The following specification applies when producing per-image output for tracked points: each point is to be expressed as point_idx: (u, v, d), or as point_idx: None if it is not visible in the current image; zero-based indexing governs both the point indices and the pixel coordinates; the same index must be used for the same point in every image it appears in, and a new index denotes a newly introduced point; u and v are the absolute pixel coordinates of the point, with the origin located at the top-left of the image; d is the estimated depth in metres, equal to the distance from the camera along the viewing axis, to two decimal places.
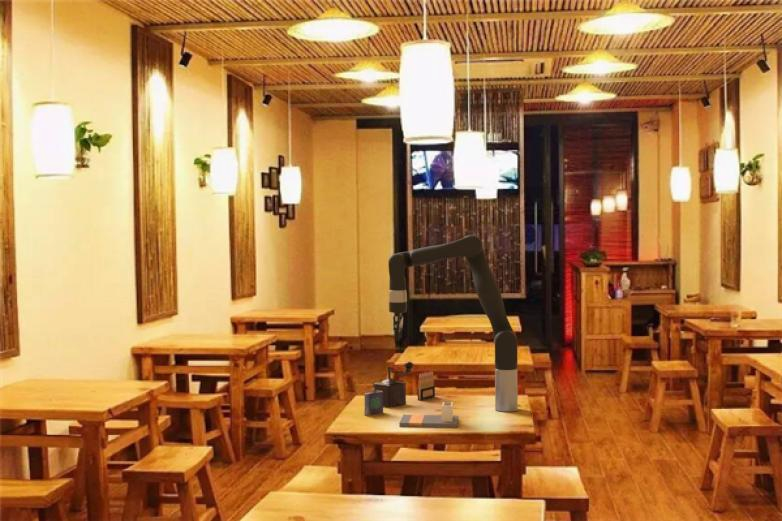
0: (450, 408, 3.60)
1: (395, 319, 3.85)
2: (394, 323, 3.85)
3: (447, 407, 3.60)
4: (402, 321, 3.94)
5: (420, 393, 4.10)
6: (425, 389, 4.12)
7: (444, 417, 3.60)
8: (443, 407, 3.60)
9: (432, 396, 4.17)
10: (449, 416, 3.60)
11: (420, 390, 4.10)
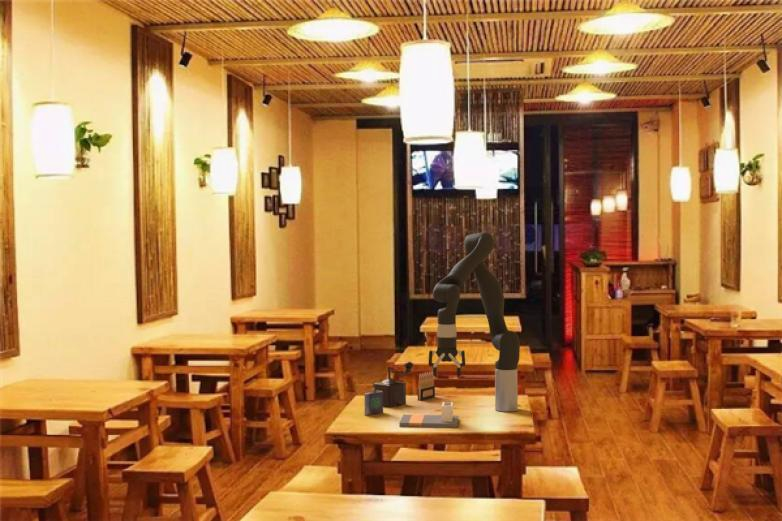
0: (450, 408, 3.60)
1: (464, 353, 3.62)
2: (464, 358, 3.61)
3: (447, 407, 3.60)
4: None
5: (420, 393, 4.10)
6: (425, 389, 4.12)
7: (444, 417, 3.60)
8: (443, 407, 3.60)
9: (432, 396, 4.17)
10: (449, 416, 3.60)
11: (420, 390, 4.10)
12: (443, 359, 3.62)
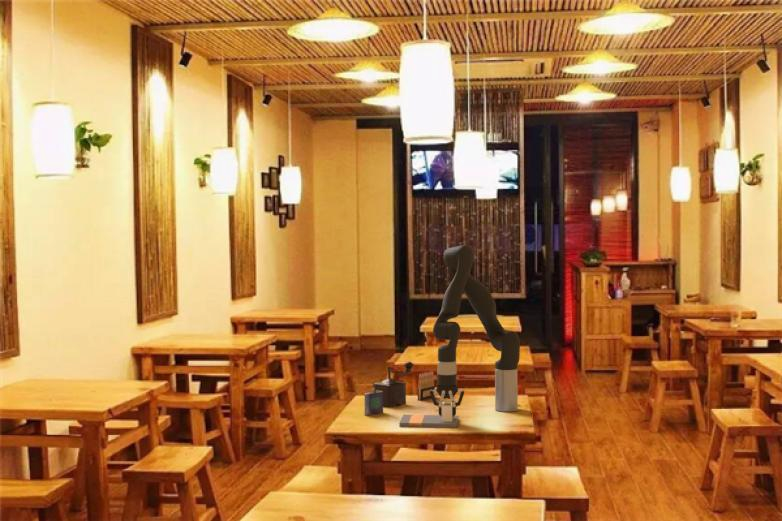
0: (450, 408, 3.60)
1: (463, 394, 3.62)
2: None
3: (447, 407, 3.60)
4: None
5: (420, 393, 4.10)
6: (425, 389, 4.12)
7: (444, 417, 3.60)
8: (443, 407, 3.60)
9: None
10: (449, 416, 3.60)
11: (420, 390, 4.10)
12: (445, 396, 3.63)
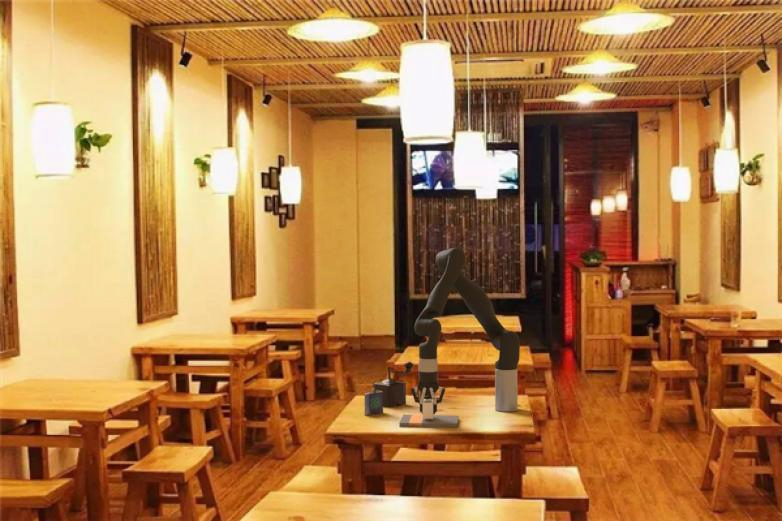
0: (431, 405, 3.60)
1: (444, 391, 3.63)
2: None
3: (428, 404, 3.60)
4: None
5: (420, 393, 4.10)
6: None
7: (425, 414, 3.61)
8: (424, 404, 3.60)
9: None
10: (430, 413, 3.60)
11: None
12: (426, 393, 3.63)
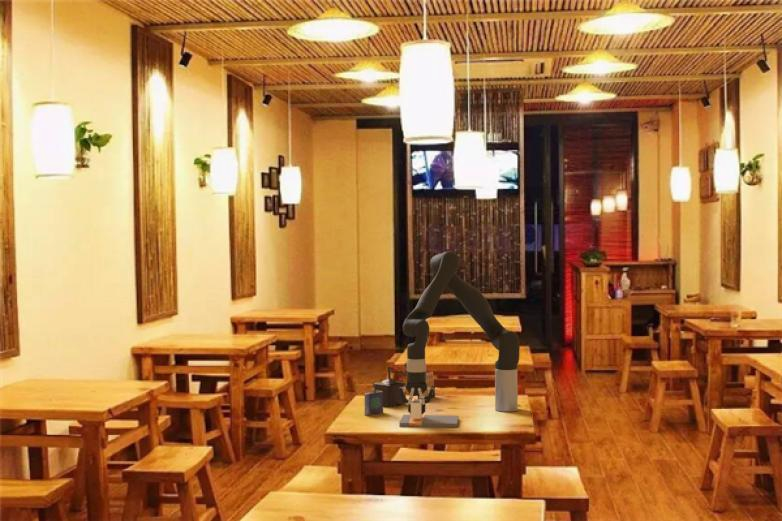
0: (419, 405, 3.61)
1: (432, 391, 3.64)
2: None
3: (416, 404, 3.61)
4: None
5: None
6: None
7: (413, 415, 3.61)
8: (412, 404, 3.61)
9: (432, 396, 4.17)
10: (418, 414, 3.61)
11: None
12: (414, 393, 3.64)
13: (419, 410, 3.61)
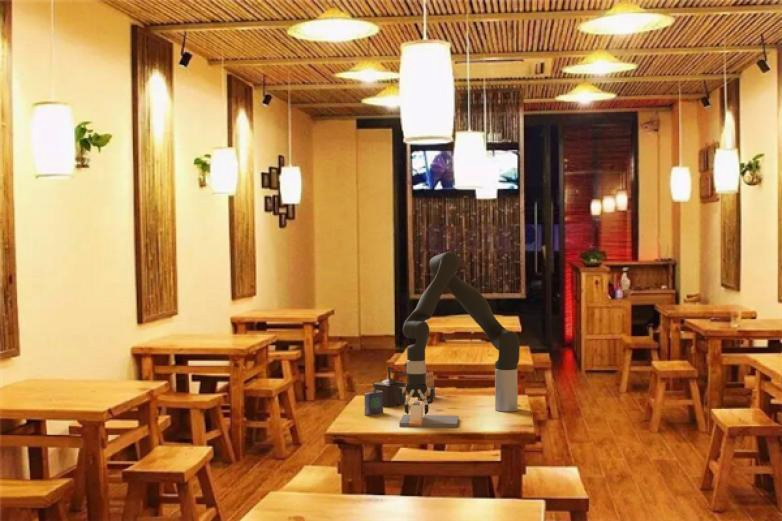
0: (419, 408, 3.61)
1: (433, 391, 3.64)
2: (433, 395, 3.63)
3: (416, 407, 3.61)
4: None
5: None
6: None
7: (413, 417, 3.61)
8: (412, 407, 3.61)
9: None
10: (418, 416, 3.61)
11: None
12: (413, 395, 3.64)
13: (419, 412, 3.61)
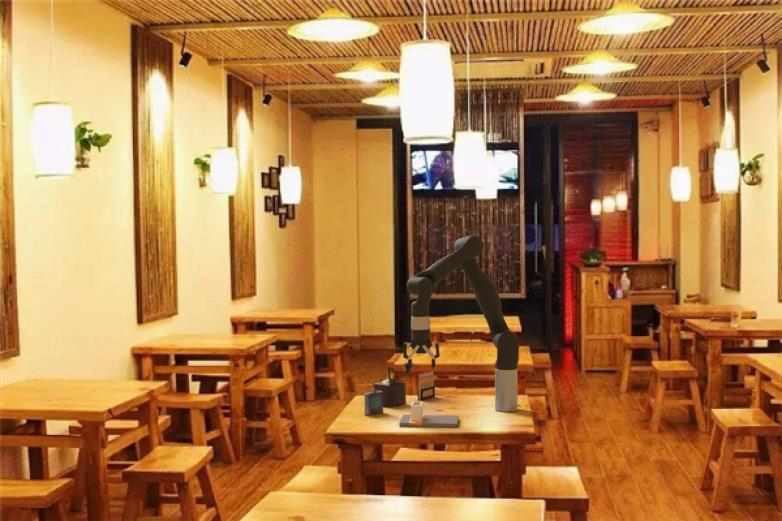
0: (419, 408, 3.61)
1: (438, 345, 3.66)
2: (438, 349, 3.66)
3: (416, 407, 3.61)
4: None
5: (420, 393, 4.10)
6: (425, 389, 4.12)
7: (413, 417, 3.61)
8: (412, 407, 3.61)
9: (432, 396, 4.17)
10: (418, 416, 3.61)
11: (420, 390, 4.10)
12: (417, 351, 3.66)
13: (419, 412, 3.61)
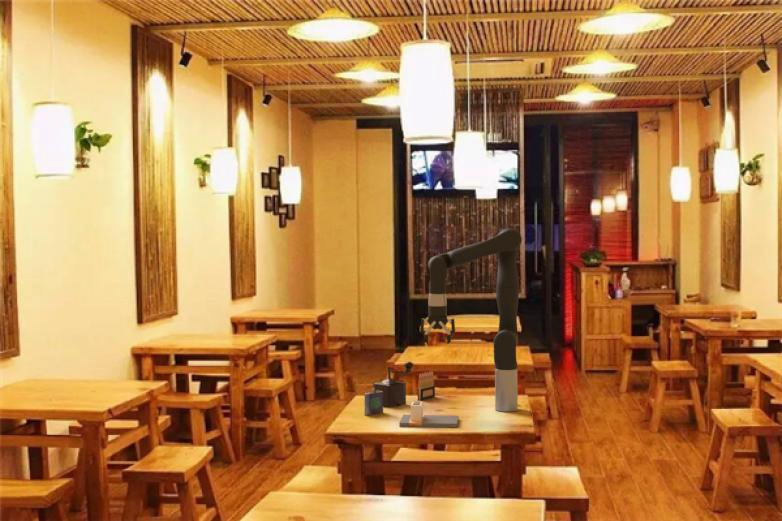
0: (419, 408, 3.61)
1: None
2: (454, 326, 3.84)
3: (416, 407, 3.61)
4: None
5: (420, 393, 4.10)
6: (425, 389, 4.12)
7: (413, 417, 3.61)
8: (412, 407, 3.61)
9: (432, 396, 4.17)
10: (418, 416, 3.61)
11: (420, 390, 4.10)
12: (434, 327, 3.84)
13: (419, 412, 3.61)
